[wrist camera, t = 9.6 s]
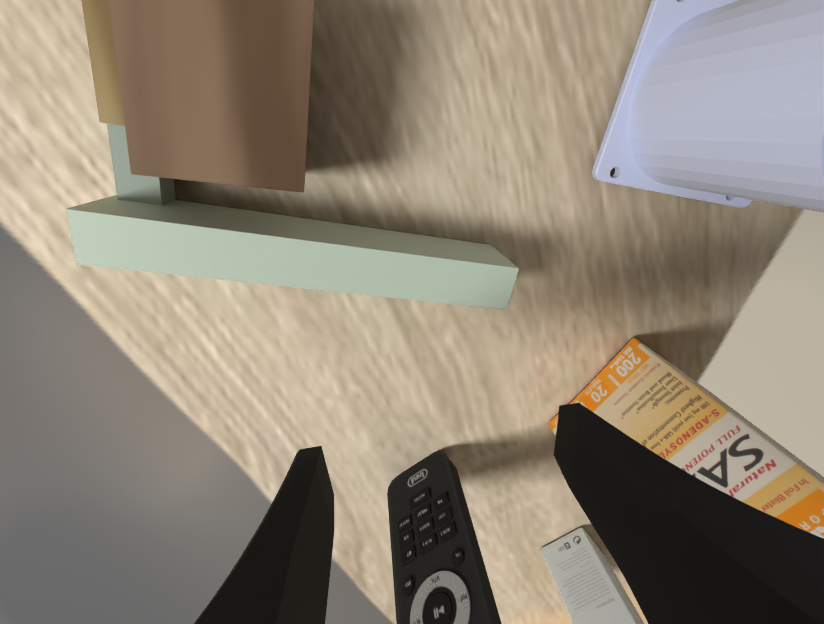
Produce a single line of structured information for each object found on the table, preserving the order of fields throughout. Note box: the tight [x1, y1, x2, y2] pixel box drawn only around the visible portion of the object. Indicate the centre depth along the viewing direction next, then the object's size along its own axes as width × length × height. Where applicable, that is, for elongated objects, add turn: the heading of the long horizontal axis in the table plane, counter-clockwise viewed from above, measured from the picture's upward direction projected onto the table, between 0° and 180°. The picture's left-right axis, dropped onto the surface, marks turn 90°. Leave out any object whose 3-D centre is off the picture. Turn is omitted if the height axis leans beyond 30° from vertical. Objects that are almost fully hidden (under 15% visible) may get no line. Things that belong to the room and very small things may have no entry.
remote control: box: [387, 451, 501, 624], centre depth 19 cm, size 5×2×15 cm, turn 126°
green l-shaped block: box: [66, 123, 519, 310], centre depth 16 cm, size 17×8×4 cm, turn 80°
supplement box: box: [549, 338, 824, 539], centre depth 20 cm, size 8×5×13 cm, turn 145°
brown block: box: [82, 0, 314, 192], centre depth 13 cm, size 4×6×6 cm
